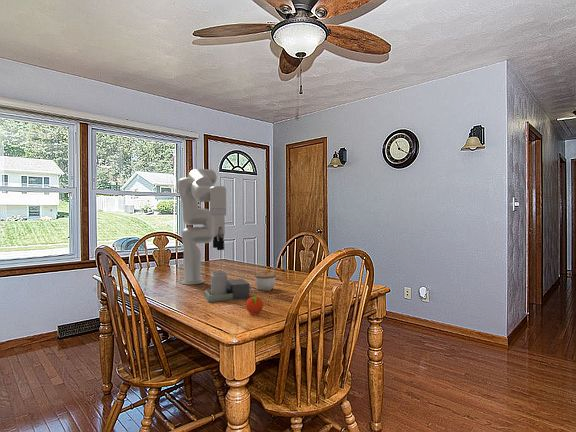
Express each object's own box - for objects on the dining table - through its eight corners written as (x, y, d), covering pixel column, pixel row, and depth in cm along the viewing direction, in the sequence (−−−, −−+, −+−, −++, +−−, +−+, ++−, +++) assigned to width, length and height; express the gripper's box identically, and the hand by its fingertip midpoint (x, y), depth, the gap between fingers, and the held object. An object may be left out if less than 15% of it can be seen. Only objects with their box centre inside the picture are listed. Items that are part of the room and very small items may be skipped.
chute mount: (204, 296, 173) (204, 282, 173) (242, 292, 181) (242, 278, 180) (208, 302, 162) (208, 287, 162) (249, 298, 169) (249, 283, 169)
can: (223, 299, 166) (223, 273, 166) (208, 298, 167) (208, 272, 167) (229, 295, 173) (229, 270, 173) (214, 294, 175) (214, 270, 174)
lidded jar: (277, 287, 193) (277, 269, 193) (274, 291, 182) (274, 273, 182) (257, 286, 194) (257, 269, 194) (253, 291, 183) (253, 273, 183)
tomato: (264, 316, 141) (264, 298, 141) (247, 317, 140) (246, 299, 140) (261, 310, 149) (261, 293, 149) (245, 311, 148) (244, 294, 147)
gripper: (206, 212, 176) (207, 247, 177) (213, 212, 160) (213, 251, 160) (222, 212, 179) (222, 246, 179) (230, 212, 163) (230, 250, 163)
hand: (218, 248), depth 170 cm, fingers open, 9 cm apart
